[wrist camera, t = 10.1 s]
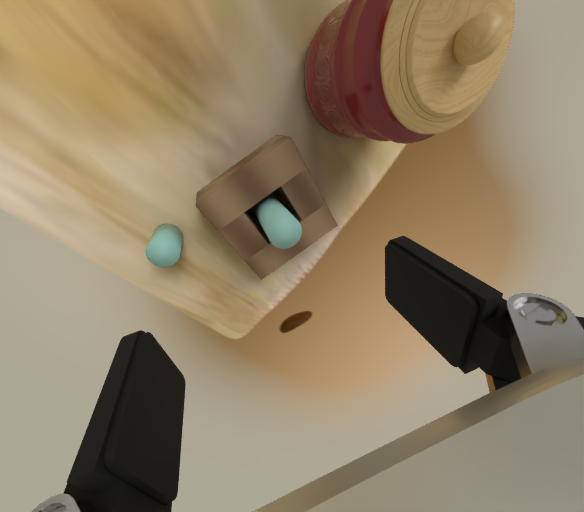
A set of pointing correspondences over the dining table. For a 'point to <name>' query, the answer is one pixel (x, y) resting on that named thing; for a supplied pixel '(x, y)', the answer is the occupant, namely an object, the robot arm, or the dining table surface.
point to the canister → (405, 65)
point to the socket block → (256, 186)
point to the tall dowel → (277, 222)
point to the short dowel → (165, 245)
